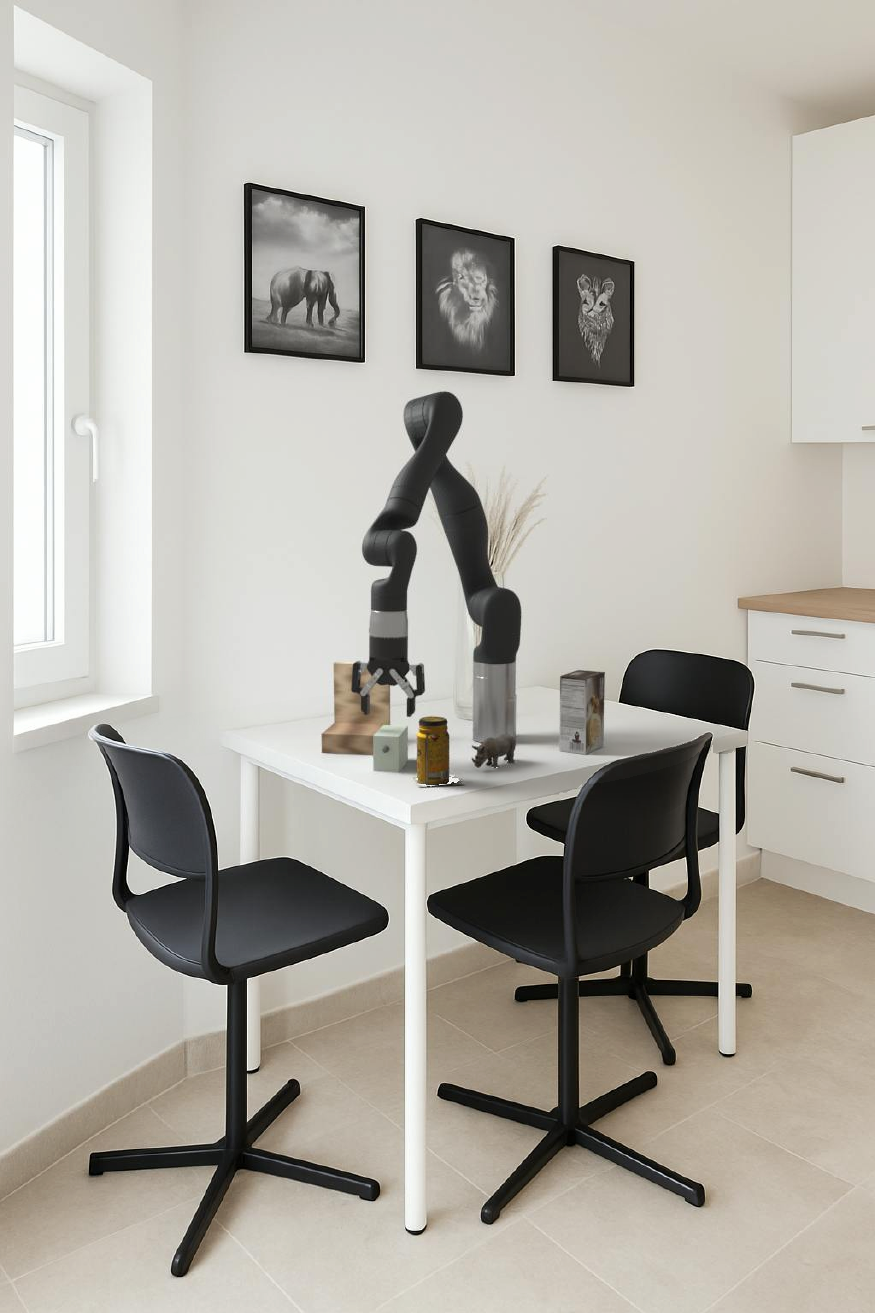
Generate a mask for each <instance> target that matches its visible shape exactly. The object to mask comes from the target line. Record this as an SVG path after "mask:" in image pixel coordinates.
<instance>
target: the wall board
mask: <svg viewBox="0 0 875 1313" xmlns="http://www.w3.org/2000/svg"><path fill="white" fill-rule="evenodd" d="M354 663H355V662H348V661H347V662H345V661H344V662H343V661H341V662H339V661H335V662H333V707H334V708H333V712H334V715H333V717H334V722H333V724H334V723H360V724H389V725H391V685H379V684H377V683H376V684H375V685H374V686H373V688H372V689H371V690H370V691H369V695H370V713H369V714H368V715H364V712H362V711H361V696H360V694H358V693H353V692H352V691H351V686H352V670H353V664H354ZM371 677H372V676H371V674H370V673H369V671H368V670H367V668H365V670H364V672H363V673H361V682H360V686H361V687H363V688H364V686H365V685H366V684H367V682H368V681H369V680H370V679H371Z"/></svg>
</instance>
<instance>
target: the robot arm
mask: <svg viewBox="0 0 875 1313" xmlns="http://www.w3.org/2000/svg"><path fill="white" fill-rule="evenodd" d="M463 412H464V411H463V407H462V404H461V402H460V400H459V399H458V397H457V396H456V395H455V394H454V393H452V392H450V391H437V392H434V393H431V394H427V395H424V396H423V395H422V396H419V397H416V398H413V399H411V400H409V401H407V403H406V404H405V405H404V408H403V423H404V427H405V430H406V433H407V435H408V439H409V440H410V443H411V446H412V447H413V449H414V454H413V455H412V456H411V458H410V459H409V460H408V461H407V462H406V464H404V466H403V467H402V468H401V470H400V471H399V473H398V474H397V476H396V478H395V479H394V481H393V482H392V485H391V488H390V491H389V494H388V497H387V500H386V503H385V505H384V507H383V509H382V511H381V512H380V513H379V514H378V515H377V517H376V518H375V519H374V521H373V522H372V524H371V525H370V527H368V529H367V531H366V532H365V535H364V537H363V539H362V545H361V552H362V557H363V559H364V561H365V562H366V563H367V564H369V565H370V566H372V567H373V566H374V567H386V568H387V567H388V568H389V567H390V568H392V569H391V571H390V573H389V576H387V577H386V578H381V579H380V578H379V579H377V580H374V581H373V582H372V584H371V587H370V615H369V616H370V617H369V624H368V625H369V626H368V633H369V637H368V638H369V639H368V640H369V642H368V643H369V644H368V648H369V649H368V650H369V651H368V654H369V656H368V662H362V661H360V660H357V661H355V662H353V663H354V664H353V670H352V686H351V691H352V692H353V693H358V694H360V696H361V711H362V712H364V715H368V714H369V713H370V695H369V691H370V690H371V689H372V688H373V686H374V685H375V684H376V683H377V684H379V685H390V687H396V686H399V687H400V689H401V690H402V691H403V692H404V693H405V695H406V696H407V698H406V717H407V718H411V717H412V715H414V714H415V712H416V698H417V697H419V696H422V695H423V694H424V693H425V692H426V682H425V665H424V663H421V662H420V663H418V664H410V663H409V658H408V657H409V617H408V590H409V584H410V581H411V577H412V572H413V569H414V565H415V563H416V562H415V561H416V559H417V555H418V545H417V541H416V538H415V537H414V535H413V534H412V533H411V532H410V531H408V530H407V529H410V528H413V527H415V526H416V524H417V523H418V522H419V519H420V517H421V513H422V510H423V507H424V504H425V501H426V498H427V495H428V493H429V490H430V491H431V495H432V497H433V500H434V502H435V506H436V510H437V512H438V516H439V519H440V522H441V525H442V528H443V531H444V534H445V537H446V539H447V542H448V544H449V545H448V546H449V548H450V550H451V554H452V557H453V560H454V562H455V564H456V567H457V571H458V574H459V578H460V582H461V587H462V592H463V595H464V601H465V605H466V609H467V612H468V615H469V617H470V619H471V620H472V621H473V623H475V625H477V626H479V627H481V637H480V638H481V640H480V642H479V644H478V645H476V647H474V648H473V654H472V655H473V656H472V659H473V660H472V664H473V666H472V667H473V668H472V670H473V671H472V674H473V675H472V739H473V741H476V742H479V743H483V742H484V741H485V740H486V739H487V738H489V737H492V738H497V737H498V736H500V735H501V734H506V733H509V734H510V735H511V736H513V737H514V738H515V739H516V737H517V694H516V692H517V689H516V686H517V683H516V682H517V677H516V675H517V653H518V651H519V649H520V645H521V634H522V633H521V630H522V629H521V628H522V606H521V601H520V599H519V597H518V595H517V594H516V592H514V591H513V590H511V589H510V588H505V587H499V586H498V584H497V581H496V579H495V577H494V574H493V572H492V569H491V566H490V560H489V554H488V553H489V552H488V546H489V526H488V521H487V516H486V514H485V510H484V508H483V504H482V501H481V498H480V496H479V494H478V492H477V490H476V489H475V488H474V486H473V485H472V484H471V482H469V481H468V480H467V479H466V478H465V477H464V476H463V475H462V473H460V472H459V471H458V470H457V469H456V467H454V465H453V464H452V462H450V459H449V458H448V456H447V454H448V452H449V450H450V448H451V446H452V445H453V442H455V439H456V437H457V435H458V433H459V431H460V430H461V427H462V423H463V418H464V416H463V415H464V413H463ZM365 668H367V670H368V671H369V673H370V674H371V676H372V677H371V679H370V680H369V681H368V682H367V684H366V685H365V686H364V688H363V687H361V686H360V682H361V673H363V672H364V670H365ZM409 672H412V675H413V676H415V683H416V689H415V688H414V687H413V686H412V685H411V682H410V681H409V680H408V678H407V674H408V673H409Z"/></svg>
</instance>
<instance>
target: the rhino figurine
mask: <svg viewBox="0 0 875 1313" xmlns="http://www.w3.org/2000/svg"><path fill="white" fill-rule="evenodd" d="M516 746H517V741H516V738H514V737H513V736H511V735H510V734H509V733H506V734H501V735H500V736H498V737H497V738H492V737H489V738H487V739H486V740H485V741H484V742H481V743H480V745H479V746H476V745H471V748H472V749H474V750H476V754H475V756H474V758H473V757H471V761H472V762H473V764H474V766H475V768H477V769H479V768H481V767H482V766H483V765H484V763H485V766H486V765H487V766H486V767H494V768H493V769H497V768H496V767H498V768H499V765H498V760H499V758H501V757H504V758H503V761H507V760H508V761H507V762H506V763H507V764H509V763H510V764H511V763H512V764H515V759H514V757H515V751H516V748H517V747H516ZM486 761H487V762H486ZM512 764H511V765H512ZM490 765H491V766H490Z"/></svg>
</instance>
